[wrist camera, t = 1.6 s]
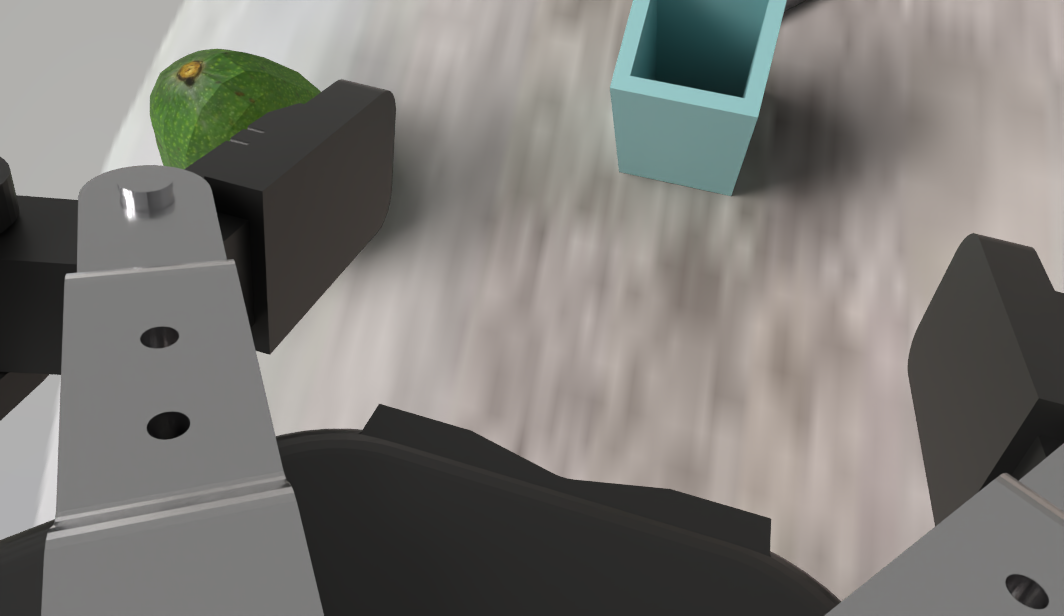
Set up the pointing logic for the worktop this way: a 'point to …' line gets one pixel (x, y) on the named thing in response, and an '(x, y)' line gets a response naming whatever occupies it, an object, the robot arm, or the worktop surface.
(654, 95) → the teal open-top bin
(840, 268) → the worktop surface
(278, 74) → the avocado
